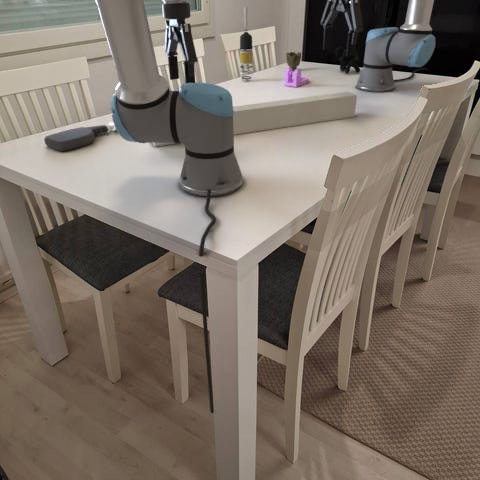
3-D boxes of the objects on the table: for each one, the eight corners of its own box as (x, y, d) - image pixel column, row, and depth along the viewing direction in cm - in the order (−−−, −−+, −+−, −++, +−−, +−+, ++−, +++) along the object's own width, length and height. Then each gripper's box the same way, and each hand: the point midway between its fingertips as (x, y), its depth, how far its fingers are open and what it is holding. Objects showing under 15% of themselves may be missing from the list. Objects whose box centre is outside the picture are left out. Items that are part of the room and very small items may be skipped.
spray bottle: (43, 145, 135) (109, 126, 151) (63, 153, 129) (130, 132, 145) (40, 136, 134) (108, 117, 150) (60, 143, 128) (129, 123, 144)
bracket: (296, 87, 192) (296, 70, 189) (285, 85, 195) (285, 68, 192) (310, 81, 201) (311, 65, 197) (300, 79, 204) (300, 63, 200)
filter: (254, 81, 203) (254, 7, 187) (243, 82, 201) (242, 7, 185) (249, 78, 208) (249, 6, 192) (238, 79, 206) (237, 6, 190)
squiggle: (349, 83, 219) (328, 64, 222) (365, 68, 218) (343, 49, 221) (351, 72, 208) (328, 52, 210) (368, 57, 207) (344, 36, 210)
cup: (283, 70, 221) (283, 53, 217) (288, 68, 227) (289, 51, 222) (297, 72, 218) (298, 54, 214) (302, 69, 224) (303, 52, 219)
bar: (154, 146, 133) (151, 122, 129) (150, 141, 137) (147, 117, 133) (354, 116, 155) (357, 95, 151) (346, 112, 160) (348, 91, 156)
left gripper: (206, 3, 112) (210, 90, 123) (173, -1, 131) (179, 74, 142) (178, 5, 109) (185, 93, 121) (148, 0, 129) (157, 77, 140)
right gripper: (382, -24, 124) (371, 57, 135) (333, -25, 144) (327, 46, 155) (359, -23, 122) (350, 59, 133) (313, -25, 141) (308, 47, 153)
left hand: (182, 83), depth 132 cm, fingers open, 13 cm apart
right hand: (338, 52), depth 144 cm, fingers open, 13 cm apart
